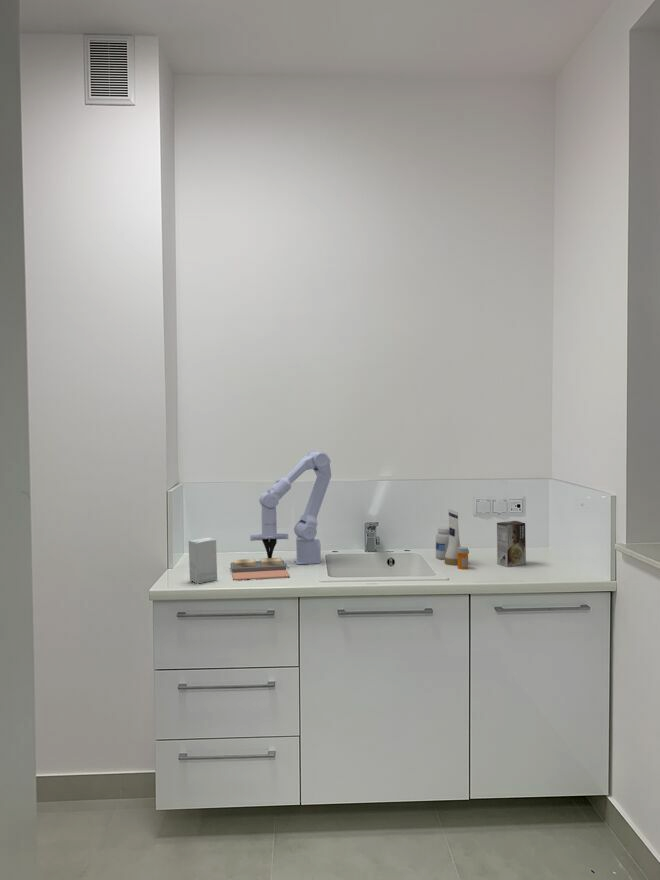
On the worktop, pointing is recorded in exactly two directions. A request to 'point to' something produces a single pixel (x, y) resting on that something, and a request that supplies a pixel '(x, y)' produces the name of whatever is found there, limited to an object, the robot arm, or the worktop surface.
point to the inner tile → (271, 561)
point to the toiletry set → (451, 544)
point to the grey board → (257, 568)
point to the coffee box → (511, 543)
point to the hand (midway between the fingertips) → (269, 558)
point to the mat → (261, 575)
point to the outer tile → (245, 563)
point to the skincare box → (202, 560)
